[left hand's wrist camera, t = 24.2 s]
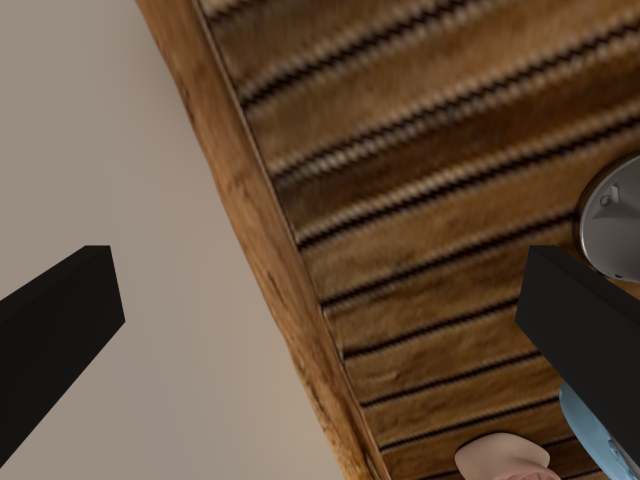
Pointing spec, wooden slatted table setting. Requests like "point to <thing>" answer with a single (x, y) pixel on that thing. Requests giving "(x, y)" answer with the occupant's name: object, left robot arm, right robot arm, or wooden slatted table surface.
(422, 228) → the wooden slatted table surface
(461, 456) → the anatomical model
